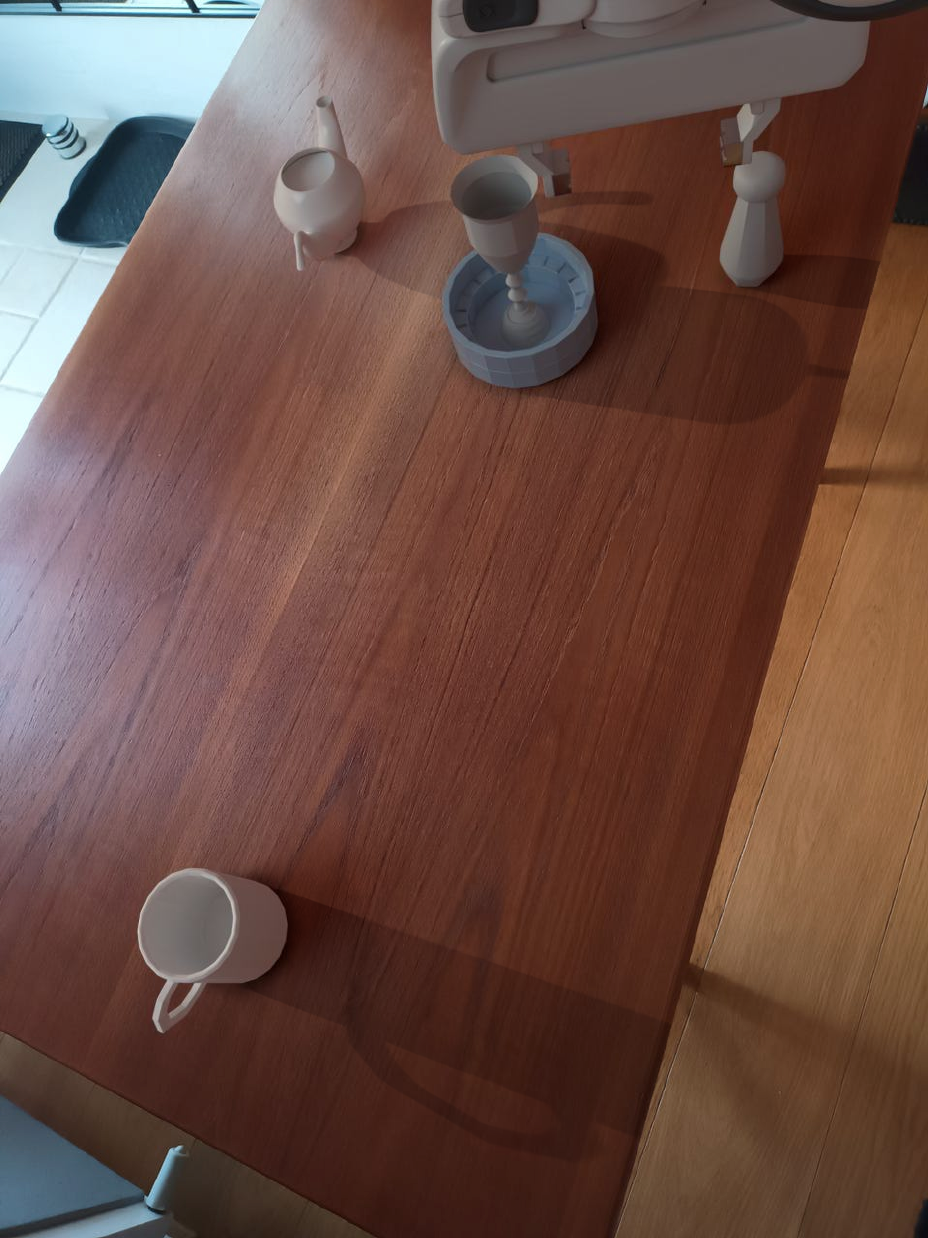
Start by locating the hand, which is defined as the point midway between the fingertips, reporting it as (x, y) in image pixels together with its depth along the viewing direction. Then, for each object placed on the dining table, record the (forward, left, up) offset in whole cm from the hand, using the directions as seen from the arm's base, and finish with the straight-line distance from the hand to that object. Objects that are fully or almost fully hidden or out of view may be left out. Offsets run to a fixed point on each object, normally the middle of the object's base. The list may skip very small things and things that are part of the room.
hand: (645, 172), depth 52 cm
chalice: (+11, -20, -37) cm, 43 cm away
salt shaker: (-11, -23, -37) cm, 45 cm away
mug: (+38, +38, -37) cm, 65 cm away
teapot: (+31, -36, -37) cm, 60 cm away
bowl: (+11, -20, -37) cm, 44 cm away
